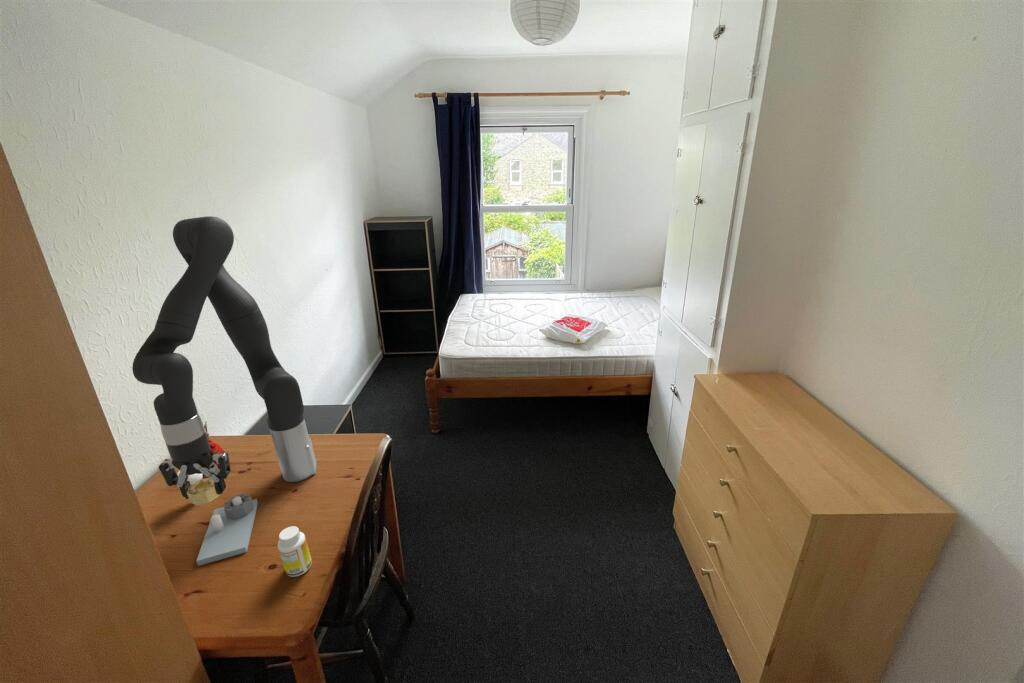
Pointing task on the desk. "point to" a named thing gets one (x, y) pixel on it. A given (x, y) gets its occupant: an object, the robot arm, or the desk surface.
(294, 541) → the supplement bottle
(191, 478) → the lightbulb
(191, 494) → the brass gear
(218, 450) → the red clay folk toy
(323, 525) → the desk surface
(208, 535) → the gear board
